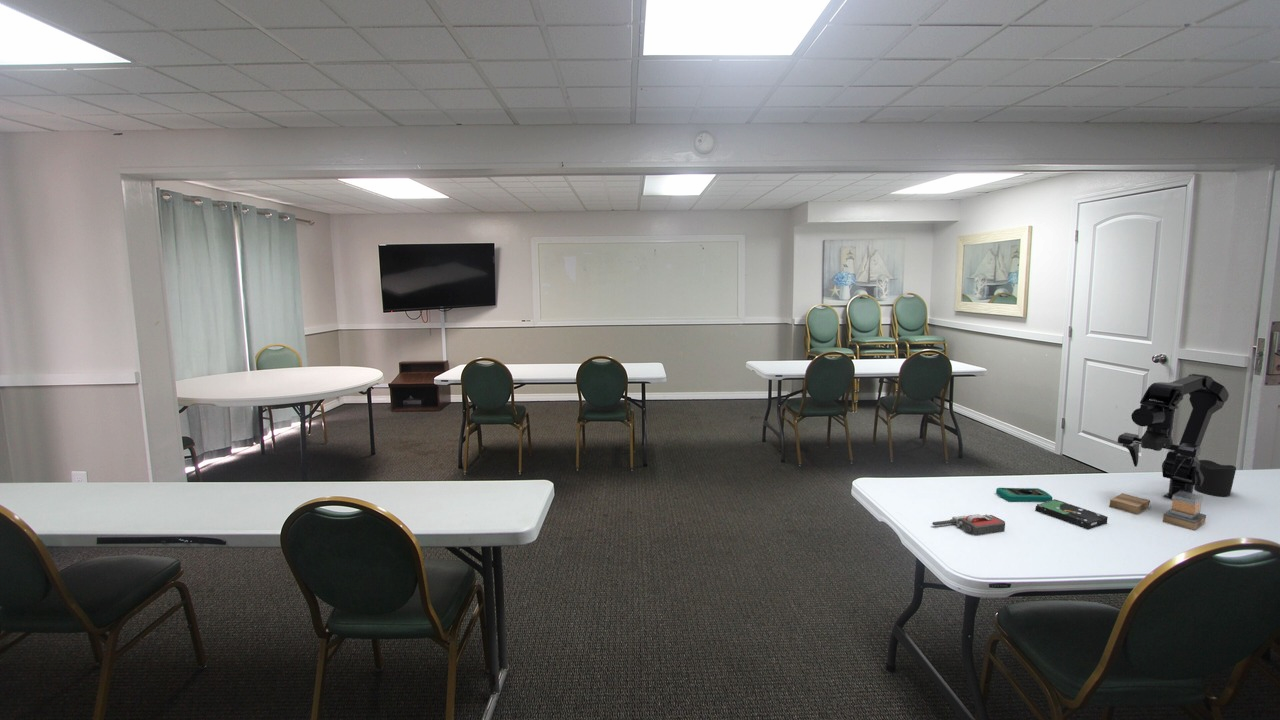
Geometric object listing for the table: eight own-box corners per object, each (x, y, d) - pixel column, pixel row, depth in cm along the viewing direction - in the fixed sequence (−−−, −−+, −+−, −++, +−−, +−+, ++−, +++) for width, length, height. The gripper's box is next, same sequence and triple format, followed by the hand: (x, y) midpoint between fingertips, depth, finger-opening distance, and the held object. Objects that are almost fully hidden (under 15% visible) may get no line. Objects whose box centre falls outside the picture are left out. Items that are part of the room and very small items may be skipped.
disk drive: (1107, 525, 167) (1053, 506, 180) (1108, 516, 166) (1054, 498, 179) (1087, 531, 162) (1034, 512, 175) (1089, 522, 162) (1035, 503, 175)
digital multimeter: (1054, 503, 182) (1055, 495, 181) (1008, 503, 182) (1009, 494, 182) (1038, 495, 189) (1039, 487, 189) (994, 494, 190) (995, 486, 189)
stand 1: (1121, 500, 184) (1122, 493, 183) (1148, 507, 178) (1149, 500, 177) (1109, 506, 178) (1110, 499, 178) (1137, 514, 173) (1138, 506, 172)
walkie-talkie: (984, 519, 169) (929, 526, 164) (985, 505, 169) (930, 512, 164) (1009, 532, 161) (953, 540, 156) (1011, 517, 160) (954, 525, 155)
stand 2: (1173, 514, 173) (1175, 506, 172) (1205, 522, 167) (1206, 514, 167) (1162, 521, 168) (1163, 513, 167) (1194, 530, 162) (1195, 522, 161)
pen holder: (1217, 488, 195) (1222, 461, 193) (1239, 498, 186) (1244, 470, 184) (1185, 486, 197) (1189, 458, 195) (1205, 496, 188) (1210, 467, 186)
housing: (1177, 508, 171) (1180, 490, 170) (1199, 514, 167) (1202, 495, 166) (1169, 513, 167) (1172, 494, 166) (1192, 520, 163) (1195, 500, 162)
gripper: (1114, 420, 179) (1108, 467, 181) (1194, 433, 164) (1186, 484, 166) (1126, 415, 185) (1120, 460, 187) (1204, 428, 170) (1197, 476, 172)
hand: (1154, 470), depth 178 cm, fingers open, 9 cm apart
